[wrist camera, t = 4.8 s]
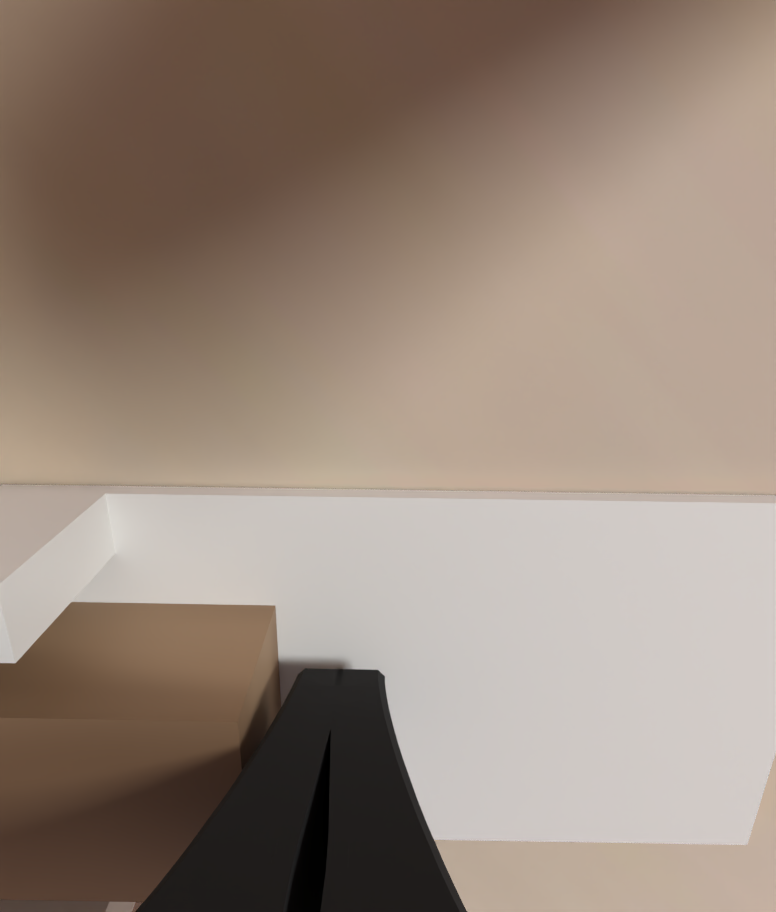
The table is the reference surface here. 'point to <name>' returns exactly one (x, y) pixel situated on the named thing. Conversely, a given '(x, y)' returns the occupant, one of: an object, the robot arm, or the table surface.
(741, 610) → the white base with panel
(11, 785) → the batten
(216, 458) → the table surface
